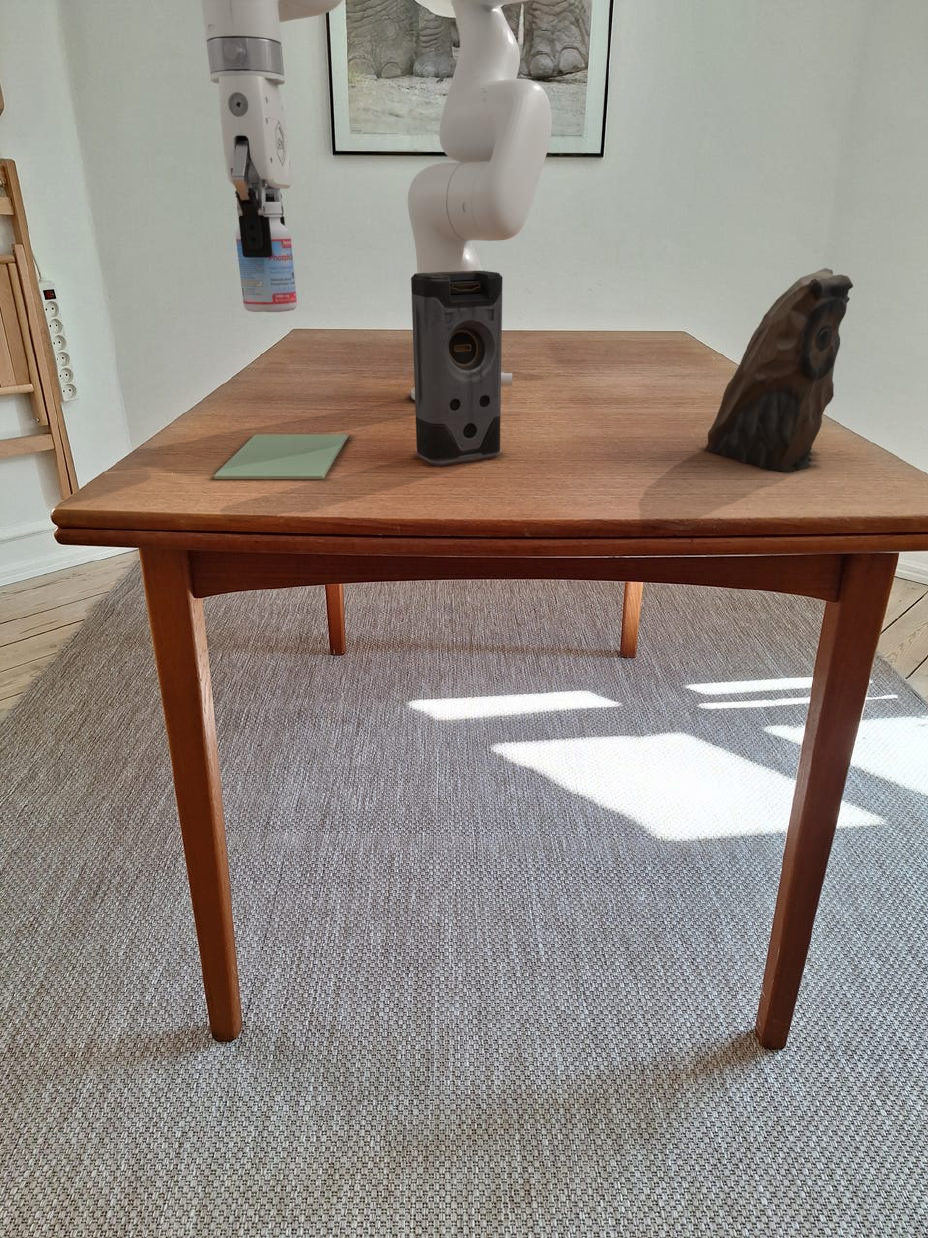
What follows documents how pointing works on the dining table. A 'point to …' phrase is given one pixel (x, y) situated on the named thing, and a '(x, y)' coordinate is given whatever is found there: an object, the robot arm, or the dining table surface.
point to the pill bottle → (269, 270)
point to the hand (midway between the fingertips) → (265, 253)
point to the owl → (784, 378)
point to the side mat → (284, 457)
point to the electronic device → (457, 365)
